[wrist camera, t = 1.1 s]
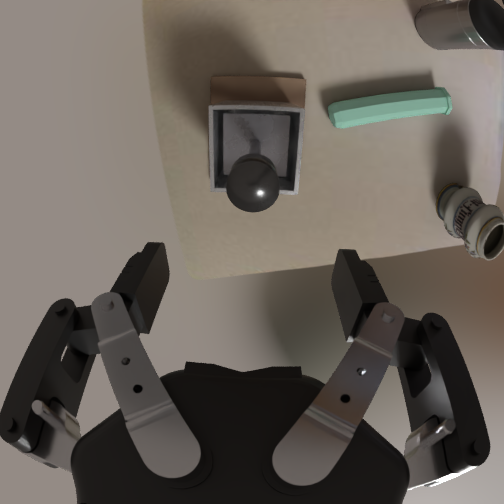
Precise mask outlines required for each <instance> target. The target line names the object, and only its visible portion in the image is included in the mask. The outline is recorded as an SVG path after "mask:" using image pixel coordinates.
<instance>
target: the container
mask: <svg viewBox="0 0 504 504" xmlns="http://www.w3.org/2000/svg"><path fill="white" fill-rule="evenodd" d="M451 109H452V103H451V97H450V95H449V94H448V92H447V91H446V89H445V88H442V87H435V89H430V90H417V91H406V92H397V93H389V94H381V95H374V96H368V97H361V98H356V99H350V100H345V101H339V102H334V103H332V104H331V105H329V106H328V112H329V118H330V120H331V122H332V124H333V126H334V127H337V128H342V129H343V128H347V127H352V126H357V125H362V124H367V123H373V122H379V121H384V120H390V119H397V118H403V117H411V116H418V115H426V114H435V113H442V114H445V115H449V113H450V111H451Z"/></svg>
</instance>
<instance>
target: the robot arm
mask: <svg viewBox="0 0 504 504" xmlns="http://www.w3.org/2000/svg"><path fill="white" fill-rule="evenodd" d="M502 1H503V4H504V0H502ZM415 24H416V28H417V31H418V33H419V35H420V36H421V38H422V39H423V40H424V41H425V42H426V43H427V44H428V45H429V46H431V47H432V48H434V49H438V50H448V49H492V50H504V9H503V8H502V7H501V6H500V5H499V4H498V3H497V2H495V1H494V0H460V1H456V2H451V1H449V0H442V1H438V2H435V3H432V4H429V5H426V6H422V7H421V11H420V12H419V13H418V14H417V16H416V19H415ZM168 282H169V266H168V260H167V255H166V249H165V245H164V243H159V242H148V243H147V244H146V245H145V247H144V249H143V251H142V252H137V253H136V254H135V255H134V256H132V257H131V258H130V259H129V260H128V262H127V264H126V265H125V267H124V269H123V270H122V273H120V275H119V277H118V278H117V280H116V282H115V284H114V286H113V287H112V289H111V290H110V292H107V293H104V294H101V295H99V296H98V297H97V298H96V299H95V300H94V301H93V302H92V305H90V306H84V307H76V306H75V304H74V302H73V301H72V300H71V299H66V298H65V299H60V300H58V301H56V302H55V303H54V304H53V305H51V307H50V308H49V310H48V312H47V313H46V315H45V317H44V318H43V320H42V322H41V324H40V326H39V327H38V329H37V331H36V333H35V335H34V337H33V339H32V341H31V342H30V345H29V346H28V349H27V351H26V352H25V355H24V357H23V359H22V361H21V363H20V365H19V367H18V370H17V372H16V374H15V377H14V379H13V381H12V383H11V386H10V388H9V391H8V393H7V396H6V399H5V401H4V404H3V407H2V409H1V412H0V436H1V437H2V439H3V440H5V441H6V442H7V443H9V444H10V445H12V446H14V447H15V448H17V449H18V450H19V451H20V452H22V453H24V454H26V455H27V456H29V457H31V458H33V459H34V460H36V461H38V462H42V463H44V464H45V465H47V466H49V467H52V468H58V467H60V468H62V469H64V470H67V471H69V472H72V475H73V479H74V483H75V487H76V494H77V504H402V502H403V499H404V497H405V494H406V492H407V490H408V489H412V488H415V487H419V486H422V485H424V486H427V487H431V486H434V485H437V484H440V483H442V482H445V481H447V480H449V479H452V478H454V477H456V476H458V475H461V474H463V473H465V472H467V471H469V470H471V469H473V468H475V467H477V466H479V465H481V464H482V463H484V462H485V460H486V459H487V457H488V455H489V452H490V440H489V436H488V432H487V428H486V424H485V421H484V417H483V413H482V410H481V407H480V403H479V400H478V397H477V394H476V391H475V388H474V385H473V382H472V379H471V377H470V374H469V371H468V369H467V366H466V364H465V361H464V359H463V356H462V354H461V352H460V349H459V347H458V344H457V342H456V340H455V338H454V335H453V333H452V331H451V329H450V327H449V325H448V323H447V321H446V320H445V319H444V318H443V317H442V316H440V315H438V314H436V313H427V314H425V315H424V316H423V318H422V320H421V321H419V320H414V319H410V318H406V317H404V314H403V312H402V311H401V310H400V308H399V307H397V306H396V305H394V304H391V303H389V301H388V299H387V297H386V295H385V293H384V290H383V288H382V286H381V284H380V283H379V280H378V279H377V277H376V274H375V272H374V270H373V268H372V267H371V266H370V265H369V264H368V263H367V262H366V261H361V260H360V258H359V256H358V254H357V252H356V250H351V249H339V250H338V253H337V257H336V261H335V266H334V270H333V274H332V281H331V284H332V290H333V294H334V297H335V301H336V304H337V308H338V312H339V315H340V319H341V323H342V327H343V331H344V334H345V338H346V342H353V343H352V344H351V346H350V348H349V349H348V351H347V352H346V354H345V356H344V357H343V359H342V360H341V362H340V363H339V365H338V367H337V368H336V370H335V371H334V373H333V374H332V376H331V377H330V378H329V380H328V382H327V383H326V384H324V383H322V382H321V381H319V380H317V379H315V378H312V377H309V376H306V375H302V372H301V367H300V366H299V367H268V368H264V369H258V370H253V371H247V372H240V371H236V370H232V369H228V368H225V367H222V366H219V365H215V364H206V363H195V362H186V364H185V369H184V370H178V371H174V372H171V373H168V374H166V375H164V376H162V377H160V378H159V377H158V375H157V373H156V371H155V369H154V367H153V365H152V363H151V361H150V359H149V357H148V355H147V353H146V351H145V349H144V347H143V345H142V343H141V341H140V338H139V335H140V333H145V334H149V333H150V330H151V327H152V324H153V321H154V319H155V316H156V313H157V311H158V308H159V305H160V303H161V300H162V297H163V295H164V292H165V290H166V287H167V284H168ZM66 346H67V350H66V352H65V355H64V357H63V359H62V361H61V356H62V354H63V351H64V349H65V347H66ZM100 353H101V357H102V360H103V363H104V366H105V369H106V372H107V374H108V377H109V380H110V383H111V386H112V388H113V391H114V394H115V396H116V399H117V401H118V404H119V406H120V409H118V410H117V411H116V412H114V413H113V414H112V415H111V416H109V417H108V418H106V419H105V420H104V421H102V422H101V423H100V424H98V425H97V426H96V427H94V428H93V429H92V430H90V431H89V432H88V433H86V434H85V435H84V436H82V437H81V434H80V426H79V423H78V421H77V419H76V416H77V412H78V409H79V405H80V402H81V399H82V395H83V392H84V389H85V386H86V383H87V380H88V377H89V374H90V371H91V368H92V365H93V362H94V360H95V357H96V354H100ZM428 364H429V366H428ZM389 365H391V366H397V368H398V372H399V376H400V380H401V384H402V388H403V393H404V397H405V402H406V406H407V411H408V415H409V421H410V427H411V432H412V433H411V434H410V435H409V436H408V438H407V440H406V443H405V451H404V456H403V455H402V454H401V453H400V452H399V451H398V450H397V449H396V448H395V447H394V446H393V445H392V444H390V443H389V442H388V441H387V440H386V439H385V438H384V437H382V436H381V435H380V434H379V433H378V432H377V431H376V430H375V429H374V428H372V427H371V426H370V425H369V424H368V423H367V422H366V421H365V420H364V419H363V416H364V414H365V412H366V410H367V409H368V407H369V405H370V403H371V401H372V399H373V397H374V395H375V393H376V391H377V389H378V387H379V385H380V383H381V381H382V379H383V377H384V375H385V372H386V370H387V368H388V366H389ZM429 367H430V369H429ZM430 370H431V372H430Z"/></svg>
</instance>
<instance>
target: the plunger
mask: <svg viewBox="0 0 504 504" xmlns="http://www.w3.org/2000/svg"><path fill="white" fill-rule="evenodd" d="M289 128H290V115H276V114H251V113H224V114H223V161H224V175H229V176H228V179H227V183H226V191H227V195H228V198H229V199H230V201H231V202H232V203H233V204H234V205H235V206H236V207H237V208H239V209H241V210H243V211H247V212H260V211H263V210H265V209H267V208H269V207H270V206H271V205H273V204H274V202H275V201H276V199H277V198H278V195H279V191H280V185H279V179H278V176H283V177H286V172H287V158H288V143H289Z"/></svg>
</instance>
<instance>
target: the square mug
mask: <svg viewBox="0 0 504 504" xmlns="http://www.w3.org/2000/svg"><path fill="white" fill-rule="evenodd" d="M224 113H251V114H276V115H290V128H289V143H288V158H287V172H286V177H283V176H278V179H279V185H280V191H279V194H292V195H298V187H299V177H300V166H301V155H302V142H303V130H304V116H305V109H304V108H302V107H300V106H297V105H295V104H292V103H289V102H274V101H244V100H226V101H222V102H218V103H216V104H212V105H209V158H210V189H211V192H227V191H226V183H227V179H228V176H229V175H224V161H223V114H224Z"/></svg>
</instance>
